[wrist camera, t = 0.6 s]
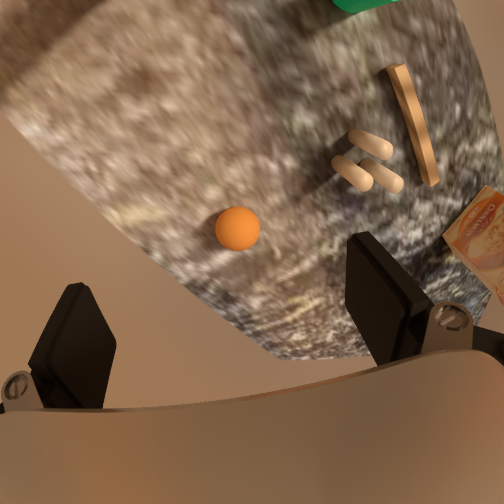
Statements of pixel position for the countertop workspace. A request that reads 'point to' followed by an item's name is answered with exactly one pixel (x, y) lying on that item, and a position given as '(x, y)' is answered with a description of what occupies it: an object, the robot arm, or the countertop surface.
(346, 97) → the countertop surface
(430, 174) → the back wall
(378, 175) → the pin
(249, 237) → the ball
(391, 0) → the candle
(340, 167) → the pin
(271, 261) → the countertop surface
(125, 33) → the countertop surface
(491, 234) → the coffeecake box
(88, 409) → the robot arm
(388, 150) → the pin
